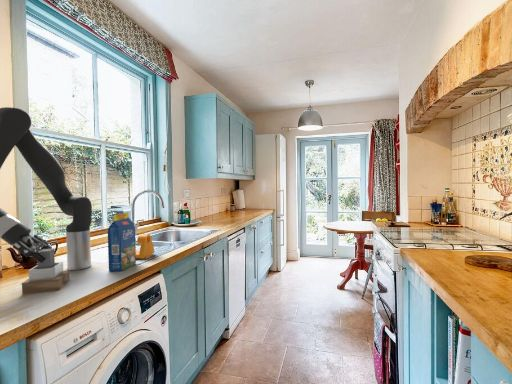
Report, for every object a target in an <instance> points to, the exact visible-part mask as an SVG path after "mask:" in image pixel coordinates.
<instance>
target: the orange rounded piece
mask: <svg viewBox="0 0 512 384" xmlns="http://www.w3.org/2000/svg"><path fill="white" fill-rule="evenodd" d="M136 241H137V244H138V246H139V245H140V246H139V250H138V251H137V250H136V259H148V258H150V257H152V255H153V254H155V248H154V244H153V239H152V236H151V234H139V235H138V237H137V240H136Z"/></svg>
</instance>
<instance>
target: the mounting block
mask: <svg viewBox="0 0 512 384" xmlns="http://www.w3.org/2000/svg"><path fill="white" fill-rule="evenodd" d="M70 280H71V279H70V270H68V269H67V270H63V273H61V274H60V275H59V276H58V277H57V278H55V279H46V280H36V281H29V278H28V279H25V280H24V281H23V282H21V292H22V295H29V294H30V295H31V294H37V293H45V292H46V293H47V292H54V291H55V292H56V291H60V290H62V288H63V287H64V286H65V285H66V284H67V283H69V281H70Z"/></svg>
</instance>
